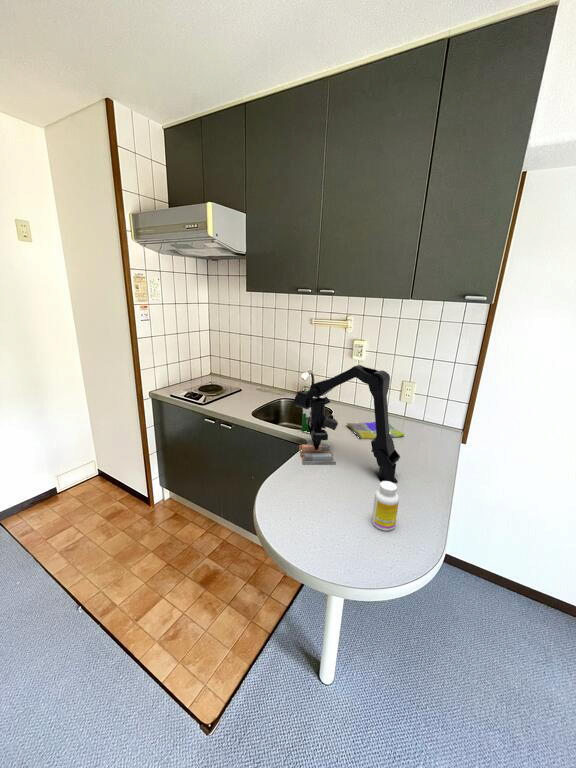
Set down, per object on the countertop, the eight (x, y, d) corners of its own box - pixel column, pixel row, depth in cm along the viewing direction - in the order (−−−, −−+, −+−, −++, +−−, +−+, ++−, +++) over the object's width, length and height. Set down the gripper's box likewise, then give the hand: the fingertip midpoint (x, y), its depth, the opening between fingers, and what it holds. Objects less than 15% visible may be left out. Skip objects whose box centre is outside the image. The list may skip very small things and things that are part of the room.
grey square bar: (330, 459, 127) (331, 453, 127) (332, 462, 125) (332, 456, 124) (304, 458, 126) (304, 453, 126) (304, 462, 124) (305, 456, 123)
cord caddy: (335, 466, 123) (336, 462, 123) (302, 466, 122) (303, 462, 122) (328, 448, 137) (328, 445, 137) (298, 448, 136) (299, 444, 136)
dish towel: (405, 439, 152) (406, 433, 151) (357, 441, 147) (358, 435, 146) (388, 424, 168) (388, 420, 167) (344, 426, 164) (345, 421, 163)
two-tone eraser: (302, 452, 132) (303, 447, 131) (302, 449, 134) (302, 444, 133) (328, 452, 133) (328, 447, 132) (327, 449, 135) (327, 444, 134)
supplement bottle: (398, 531, 89) (404, 492, 86) (376, 532, 89) (381, 492, 85) (389, 515, 96) (394, 478, 92) (368, 516, 95) (373, 479, 92)
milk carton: (306, 426, 161) (308, 388, 155) (323, 430, 156) (325, 391, 151) (298, 432, 153) (300, 392, 148) (315, 436, 149) (318, 396, 144)
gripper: (342, 420, 120) (339, 457, 124) (332, 404, 138) (329, 437, 142) (313, 420, 119) (311, 457, 124) (307, 404, 137) (305, 436, 142)
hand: (315, 446), depth 133 cm, fingers open, 5 cm apart
